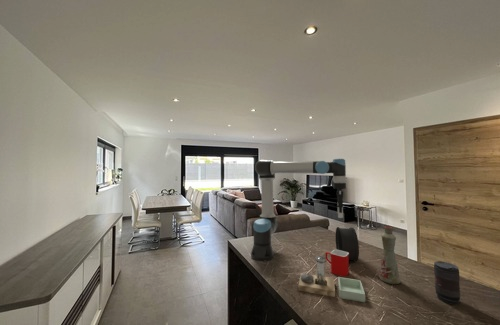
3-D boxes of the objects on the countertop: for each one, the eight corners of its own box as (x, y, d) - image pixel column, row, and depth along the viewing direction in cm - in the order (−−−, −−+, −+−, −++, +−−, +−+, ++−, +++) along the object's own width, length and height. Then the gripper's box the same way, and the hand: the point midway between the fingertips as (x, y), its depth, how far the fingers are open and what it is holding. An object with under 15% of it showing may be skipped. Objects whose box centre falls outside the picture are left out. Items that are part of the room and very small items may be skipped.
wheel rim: (359, 267, 121) (358, 232, 121) (342, 265, 122) (342, 231, 123) (350, 253, 140) (349, 224, 141) (335, 252, 142) (335, 223, 143)
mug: (350, 272, 115) (349, 252, 115) (345, 277, 109) (344, 257, 109) (328, 265, 123) (328, 247, 123) (323, 270, 117) (322, 251, 117)
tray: (339, 298, 91) (339, 289, 91) (338, 284, 103) (338, 276, 103) (365, 302, 88) (365, 294, 88) (360, 287, 99) (360, 280, 99)
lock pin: (315, 289, 98) (315, 259, 99) (316, 284, 103) (315, 255, 103) (326, 291, 97) (325, 260, 97) (326, 285, 101) (325, 256, 102)
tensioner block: (298, 290, 97) (298, 281, 98) (301, 277, 109) (301, 269, 109) (335, 297, 92) (334, 287, 92) (333, 283, 103) (333, 274, 103)
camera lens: (430, 294, 93) (428, 261, 94) (446, 293, 94) (445, 260, 95) (448, 306, 85) (447, 269, 86) (466, 305, 86) (464, 268, 87)
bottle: (401, 287, 99) (399, 228, 101) (379, 282, 104) (377, 226, 105) (399, 279, 107) (397, 224, 108) (379, 275, 112) (377, 222, 113)
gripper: (347, 183, 121) (348, 220, 120) (344, 181, 144) (345, 212, 143) (333, 183, 124) (334, 219, 123) (333, 181, 147) (333, 211, 146)
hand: (340, 215), depth 133 cm, fingers open, 13 cm apart
